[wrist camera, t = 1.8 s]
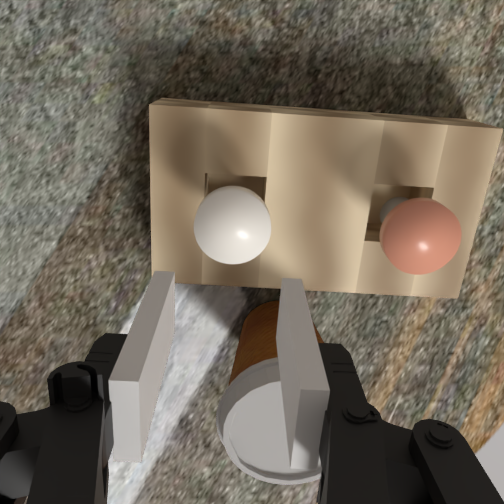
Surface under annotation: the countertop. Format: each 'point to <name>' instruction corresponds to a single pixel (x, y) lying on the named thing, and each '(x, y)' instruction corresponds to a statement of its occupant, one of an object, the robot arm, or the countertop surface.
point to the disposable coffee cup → (259, 405)
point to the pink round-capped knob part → (418, 234)
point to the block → (313, 190)
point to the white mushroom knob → (232, 225)
